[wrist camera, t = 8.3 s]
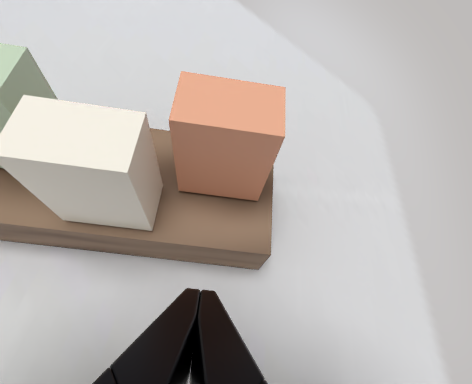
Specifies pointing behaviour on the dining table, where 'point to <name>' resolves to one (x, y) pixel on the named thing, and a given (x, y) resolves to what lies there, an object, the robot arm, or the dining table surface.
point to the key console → (165, 226)
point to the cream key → (84, 161)
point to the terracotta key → (225, 134)
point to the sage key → (19, 80)
